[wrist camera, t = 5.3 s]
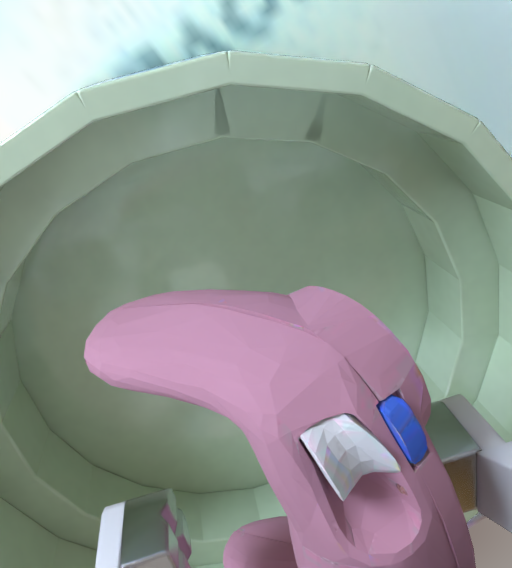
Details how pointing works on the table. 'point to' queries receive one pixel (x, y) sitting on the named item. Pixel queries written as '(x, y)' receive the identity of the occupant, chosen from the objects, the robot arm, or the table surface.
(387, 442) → the video game controller
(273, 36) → the table surface
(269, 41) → the table surface
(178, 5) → the table surface
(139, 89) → the bowl
